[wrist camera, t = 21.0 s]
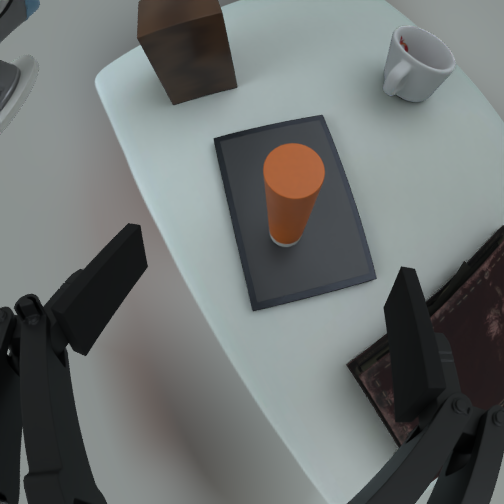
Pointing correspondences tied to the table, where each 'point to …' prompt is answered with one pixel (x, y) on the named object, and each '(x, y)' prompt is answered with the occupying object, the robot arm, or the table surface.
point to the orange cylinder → (291, 190)
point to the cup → (416, 64)
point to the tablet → (316, 230)
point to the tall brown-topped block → (186, 47)
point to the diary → (452, 339)
